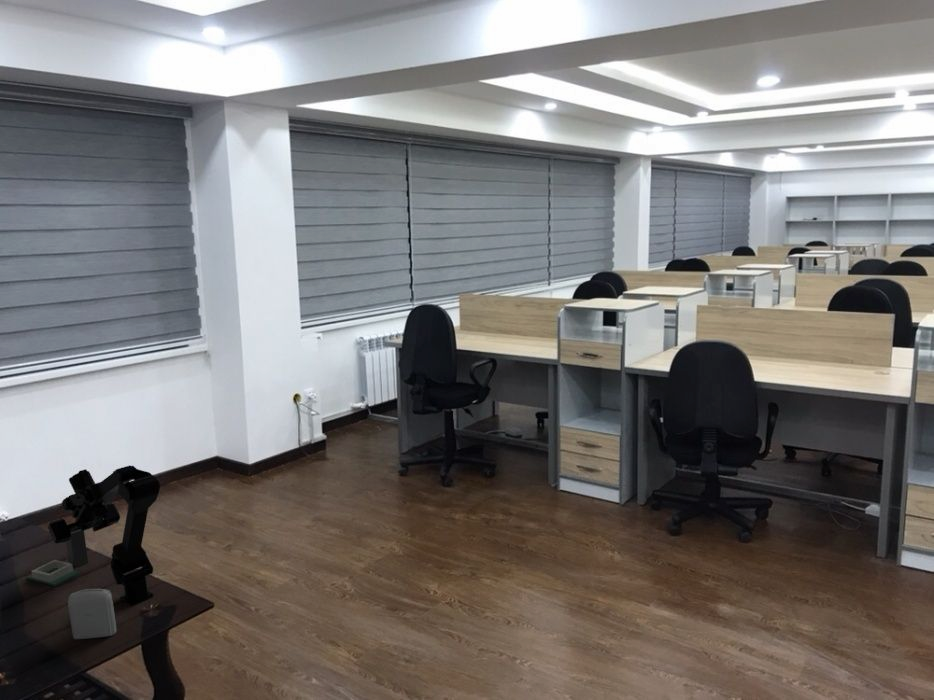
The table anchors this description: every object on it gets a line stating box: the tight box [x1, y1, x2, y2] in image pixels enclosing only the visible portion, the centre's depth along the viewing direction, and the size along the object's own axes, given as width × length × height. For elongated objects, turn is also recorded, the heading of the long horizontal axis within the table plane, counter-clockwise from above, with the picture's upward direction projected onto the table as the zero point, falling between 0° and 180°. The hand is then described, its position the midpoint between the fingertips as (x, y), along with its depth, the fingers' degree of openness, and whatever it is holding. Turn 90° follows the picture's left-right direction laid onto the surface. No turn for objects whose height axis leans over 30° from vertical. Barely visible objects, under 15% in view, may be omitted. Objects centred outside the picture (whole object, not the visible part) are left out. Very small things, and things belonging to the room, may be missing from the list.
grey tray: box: [26, 559, 80, 587], centre depth 219 cm, size 12×8×3 cm, turn 66°
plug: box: [65, 529, 89, 569], centre depth 226 cm, size 4×4×12 cm
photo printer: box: [67, 588, 117, 640], centre depth 187 cm, size 10×4×12 cm, turn 96°
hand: (78, 535), depth 224 cm, fingers open, 9 cm apart
